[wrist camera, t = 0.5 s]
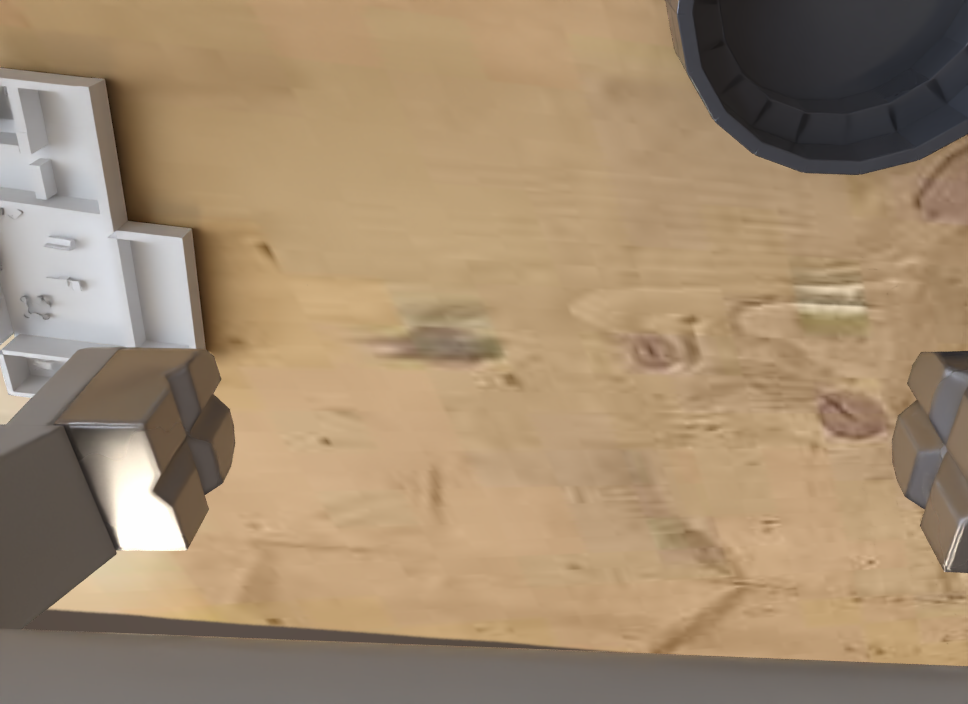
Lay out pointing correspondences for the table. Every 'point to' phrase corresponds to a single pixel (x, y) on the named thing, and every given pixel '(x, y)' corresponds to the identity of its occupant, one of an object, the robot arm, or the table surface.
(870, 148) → the bowl
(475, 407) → the table surface
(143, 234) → the floor plan model
